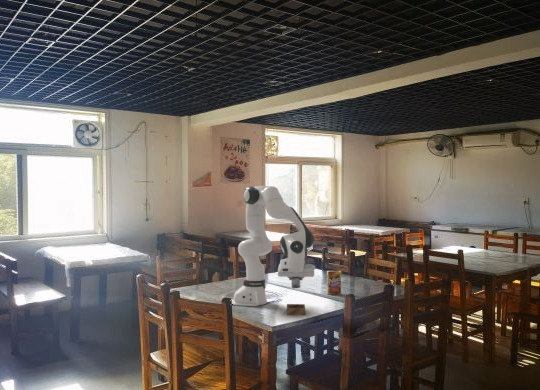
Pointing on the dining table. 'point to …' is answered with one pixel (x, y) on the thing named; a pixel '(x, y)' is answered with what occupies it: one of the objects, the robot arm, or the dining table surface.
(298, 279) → the steel socket
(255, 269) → the robot arm
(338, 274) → the candy box
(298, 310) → the brown wooden square box
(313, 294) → the dining table surface
